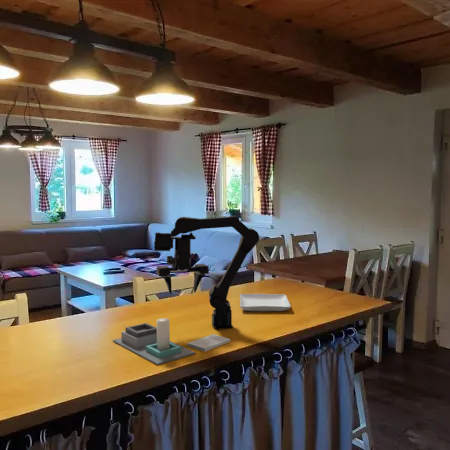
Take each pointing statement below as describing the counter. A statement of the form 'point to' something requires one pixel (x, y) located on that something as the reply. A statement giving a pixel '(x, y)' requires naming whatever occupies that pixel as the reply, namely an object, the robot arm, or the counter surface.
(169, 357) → the grey peg insertion board
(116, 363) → the counter surface
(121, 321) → the counter surface
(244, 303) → the salad plate
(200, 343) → the external hard drive
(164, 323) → the plug
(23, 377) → the counter surface
